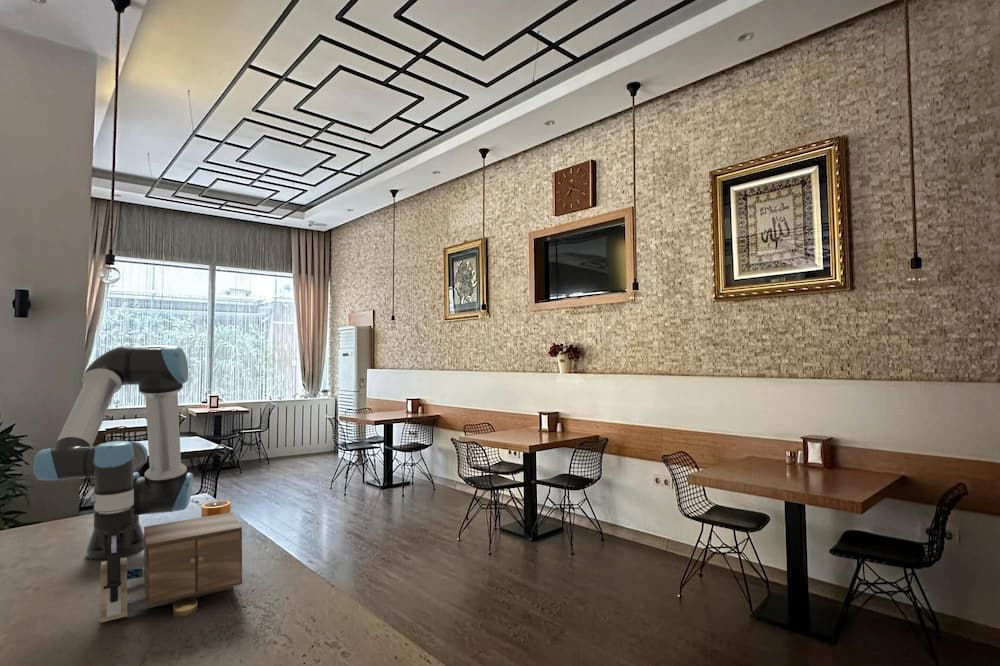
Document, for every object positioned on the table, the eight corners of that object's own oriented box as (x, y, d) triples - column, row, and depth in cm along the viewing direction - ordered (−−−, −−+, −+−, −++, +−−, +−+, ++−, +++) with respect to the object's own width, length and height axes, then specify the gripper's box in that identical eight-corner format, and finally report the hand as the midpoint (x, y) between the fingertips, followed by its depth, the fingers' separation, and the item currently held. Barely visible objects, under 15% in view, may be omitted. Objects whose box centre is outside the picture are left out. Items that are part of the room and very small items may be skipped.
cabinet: (144, 601, 139) (144, 526, 139) (232, 581, 150) (232, 512, 150) (146, 628, 125) (146, 546, 126) (243, 604, 137) (242, 528, 137)
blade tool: (101, 613, 130) (101, 562, 131) (202, 590, 142) (202, 543, 142) (100, 622, 126) (100, 569, 126) (204, 597, 138) (204, 549, 138)
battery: (225, 579, 151) (225, 505, 152) (197, 581, 150) (197, 507, 150) (234, 569, 158) (233, 498, 159) (207, 571, 157) (206, 499, 158)
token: (172, 611, 134) (172, 600, 134) (196, 605, 137) (196, 595, 137) (174, 619, 130) (174, 609, 130) (198, 613, 133) (198, 603, 133)
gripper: (95, 502, 136) (96, 599, 135) (92, 522, 121) (92, 630, 120) (132, 497, 140) (133, 591, 139) (133, 516, 125) (134, 620, 124)
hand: (114, 609), depth 130 cm, fingers closed on blade tool, 5 cm apart
